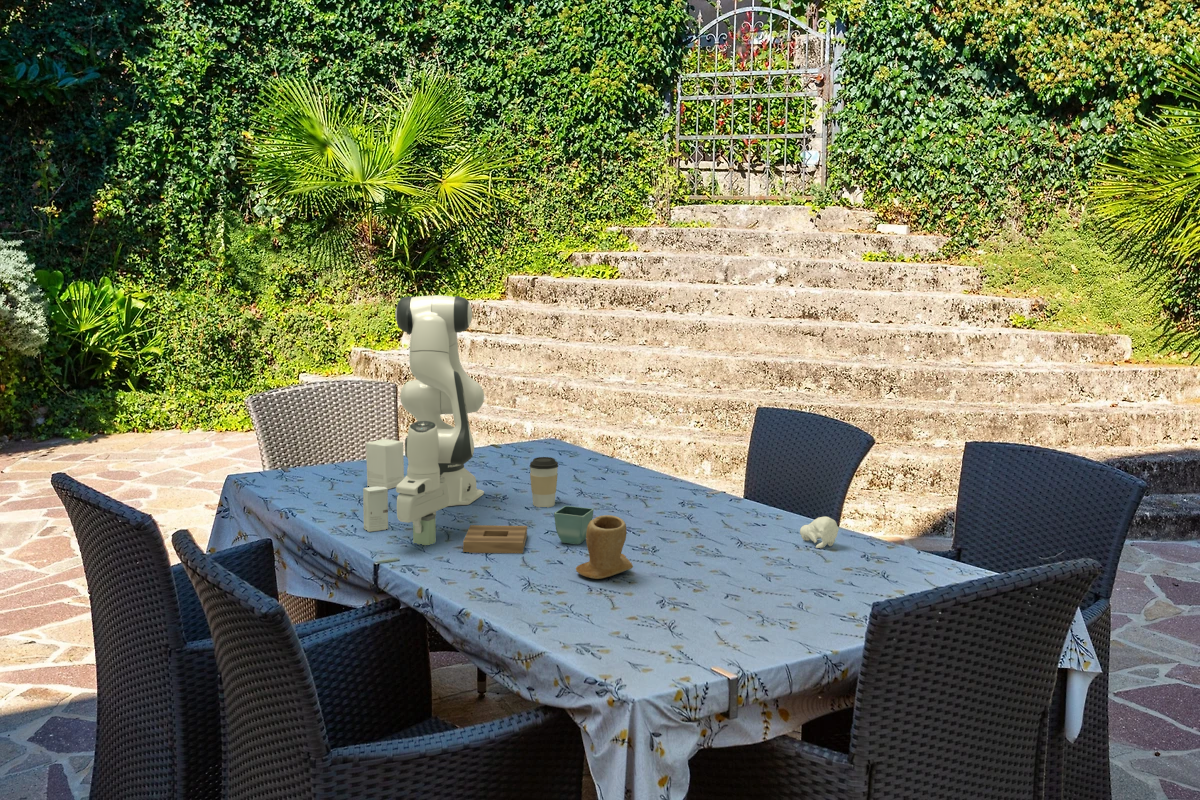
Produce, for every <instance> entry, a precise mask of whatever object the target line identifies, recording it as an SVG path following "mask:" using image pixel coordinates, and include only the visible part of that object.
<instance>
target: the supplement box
mask: <svg viewBox="0 0 1200 800" xmlns="http://www.w3.org/2000/svg"><path fill="white" fill-rule="evenodd" d="M365 450H366V454H365V455H366V457H365V459H366V480H367V481H366V484H367V487H368V486H369V487H377V486H383V487H385V488H387V489H388V490H391V489H393V488H395V489H396V486H397V485H398V484H399V483H400V482H401V481H402V480H403V479H404V478H405V468H404V467H405V463H404V460H405V459H404V457H405V456H404V455H405V454H404V441H400V440H395V439H387V438H382V439H377V440H373V441H367V442H365Z"/></svg>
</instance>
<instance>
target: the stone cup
mask: <svg viewBox="0 0 1200 800" xmlns="http://www.w3.org/2000/svg"><path fill="white" fill-rule="evenodd" d="M626 539H627V524H626V522H625V521H624V519H623V518H620V517H618V516H615V515H611V514H605V515H599V516H596V517H594V518H592V520H591V521H590V522H589V524H588V527H587V533H586V539H585V541H586V549H587V551H588V554H589V555H588V556H589V559H588V560H589V561H586V562H583V563H581V564H579V565H577V566H576V567H575V571H576V572H577V574H579V575H581V576H583V577H585V578H590V579H594V580H599V579H606V578H610V577H612V576H614V575H618V574H621V573H623V572H624V573H625V572H626V571H629V570H631V569H633V568H634V565H633V563H632V562H631V561H630V560H629V559H628V558H627V556H626V555H625V554H623V553H622V552H623V549H624V546H625V542H626Z"/></svg>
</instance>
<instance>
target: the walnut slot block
mask: <svg viewBox="0 0 1200 800" xmlns="http://www.w3.org/2000/svg"><path fill="white" fill-rule="evenodd" d="M527 537H528V526H527V525H493V524H492V525H489V524H488V525H487V524H486V525H485V524H484V525H479V524H477V525H476V524H475V525H473V524H470V525H469V527H468V529H467V532H466V534H465V537H464V538H463V540H462V541H463V542H462V553H463V552H469V553H468V554H471V553H472V554H475V553H476V554H523V553H524V550H525V546H526V541H527V539H528V538H527Z"/></svg>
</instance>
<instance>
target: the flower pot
mask: <svg viewBox="0 0 1200 800" xmlns="http://www.w3.org/2000/svg"><path fill="white" fill-rule="evenodd" d="M593 517H594V508H590V507H581V506H572V505H564V506H562V507H561V508H560V509H558V510H556V511H555V512H554V523H555V524H554V526H555V531H556V534H557V537H558V538H559V540H560V541H561V543H563V544H571V545H580V544H581V543H583V542H584V541H586V533H587V527H588V524H589V522H590V521H591V520H593V519H594V518H593Z"/></svg>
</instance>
